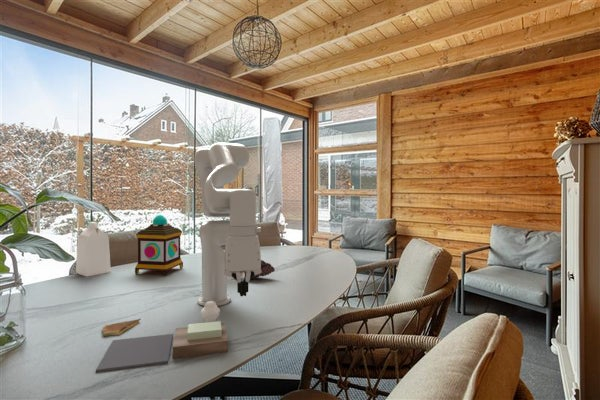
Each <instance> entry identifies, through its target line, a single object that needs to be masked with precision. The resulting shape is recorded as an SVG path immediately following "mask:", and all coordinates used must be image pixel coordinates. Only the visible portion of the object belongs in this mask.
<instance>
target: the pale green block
mask: <svg viewBox="0 0 600 400" xmlns="http://www.w3.org/2000/svg"><path fill="white" fill-rule="evenodd" d="M221 324H222V322H221V320H219V321H217V320H216V321H215V322H207V323H206V322H200V323H199V322H198V323H189V324H188V326H187V327H188V333H187V340H195V339H204V338H213V337H222V329H221Z"/></svg>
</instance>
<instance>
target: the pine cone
mask: <svg viewBox="0 0 600 400" xmlns="http://www.w3.org/2000/svg"><path fill="white" fill-rule="evenodd" d="M261 271H262V272H261V273H260V274H257V275H254V276H253V277H252V278H251V279H250V280H255V279H256V278H259V277H264V276H265V277H266V276H268V275H270V274H272V273H274V272H275V267H274V266H272V264H271V263H269V262H266V261H264V260H263V259H261ZM243 274H244V275H245V272H243Z"/></svg>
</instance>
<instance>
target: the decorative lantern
mask: <svg viewBox="0 0 600 400" xmlns="http://www.w3.org/2000/svg"><path fill="white" fill-rule="evenodd" d="M182 234H183V231H182V230H181V229H179V227H175V226H172V225H171V224H170V223H168V219H167V218H166V217H165V216H164V215H161V214H159V215H158V214H157V215H156V216H155V217H154V218H153V220H152V223H151V224H149V226H147V227H146V228H145V229H141V230H139V231H137V233H135V236H136V238H137V264H136V265H135V268H134V273H135V275H139V273H140V270H142V271H162V272H163V274H164V276H165V277H167V276H168V273H169V272H168V271H170V270H171V269H174V268H176V267H178V266H179V269H181V270H182V269H183V268H184V262H183V260H182V258H181V236H182Z"/></svg>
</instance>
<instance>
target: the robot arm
mask: <svg viewBox="0 0 600 400" xmlns="http://www.w3.org/2000/svg"><path fill="white" fill-rule="evenodd" d="M249 160H250V151H249V150H248V147H246V146H245V145H244V144H241V143H232V142H215V143H213V144H211V145H210V146H209V147H204V148H199V149H197V150H196V152H195V154H194V166H195V171H196V173H197V176H198V179H199V182H200V189H201V192H200V193H201V209H202V214H203V215H204V217H207V218H214V219H215V218H229V219H228V220H227V219H226V220H224V219H223V220H219V219H218V220H208V221H205V222H203V223H202V224H201V225H200V226H199V238H200V244H201V296H200V297H198V298H197V304H199V305H200V306H203V307H204V306H205V304H206V302H208V301H214V302H215V303H216V305H217V307H220V306H224V305H227V304H229V303H230V302H231V301H232V296H230V294H228V277H231V278H233V279H234V280H235V282H236V281H237V285H236V286H237V288H236V289H237V293H238V294H239V296H240V297H243V296H244V297H247V293H249V282H250V280H252V279H251V278H252V277H253V276H254V275H257V274H260V273H261V272H262V271H261V260H262V258H261V257H262V256H261V245H260V240H259V235H257V233H260V232H262V227H260V226H257V192H256V191H255V190H254V189H252V188H224V186H226V185H229V184H232V183H233V182H234V181H236V180H237V179H238V177H239V174H240V170H241V169H244V168H245V167H246V166H247V165H248V164H249ZM222 245H223V246H224V245H225V247H224V249H223V248H222V247H221V246H222ZM244 272H245V274H244V276H243V277H244V278H243V279H242V275H241V273H244Z"/></svg>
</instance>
